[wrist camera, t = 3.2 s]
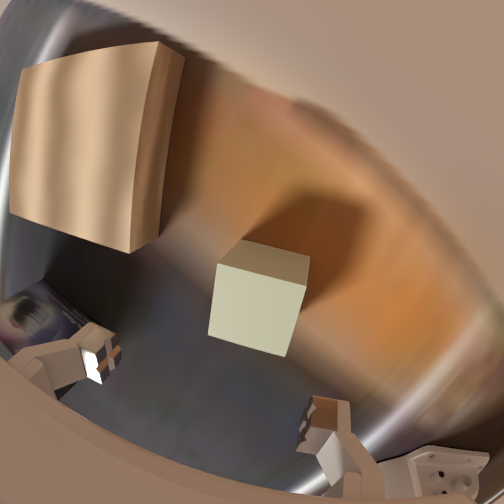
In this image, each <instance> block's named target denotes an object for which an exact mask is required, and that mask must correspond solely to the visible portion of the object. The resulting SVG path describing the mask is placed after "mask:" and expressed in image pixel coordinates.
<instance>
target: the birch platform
mask: <svg viewBox="0 0 504 504" xmlns="http://www.w3.org/2000/svg"><path fill="white" fill-rule="evenodd" d="M185 59H186V57H184V56H182V55H181V54H179V53H177V52H176V51H174V50H172V49H171V48H169V47H167V46H166V45H164V44H162V43H160V42H159V41H157V42H146V43H137V44H129V45H122V46H115V47H109V48H103V49H97V50H92V51H87V52H83V53H78V54H74V55H70V56H66V57H62V58H58V59H54V60H51V61H47V62H44V63H40V64H37V65H34V66H31V67H28V68H25V69H22V73H21V77H20V82H19V87H18V93H17V98H16V104H15V111H14V118H13V127H12V137H11V149H10V169H9V201H10V213H12V214H14V215H17V216H20V217H23V218H25V219H28V220H31V221H34V222H36V223H39V224H42V225H45V226H48V227H51V228H53V229H56V230H59V231H62V232H65V233H68V234H71V235H74V236H77V237H80V238H83V239H86V240H89V241H92V242H95V243H98V244H101V245H104V246H107V247H110V248H113V249H116V250H119V251H122V252H126V253H129V254H130V253H132V252H133V251H135V250H137V249H139V248H141V247H142V246H144V245H146V244H148V243H150V242H151V241H153V240H155V239H157V238H158V236H159V224H160V213H161V203H162V194H163V185H164V177H165V169H166V162H167V155H168V148H169V141H170V135H171V129H172V123H173V117H174V112H175V106H176V101H177V96H178V91H179V86H180V81H181V77H182V72H183V68H184V63H185Z"/></svg>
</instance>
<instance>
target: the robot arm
mask: <svg viewBox="0 0 504 504" xmlns="http://www.w3.org/2000/svg"><path fill="white" fill-rule="evenodd" d="M119 343H120V336H119V335H118V334H116V333H114V332H111V331H109V330H107V329H105V328H103V327H101V326H99V325H97V324H95V323H93V322H89V323H87V324H86V325H85V326H84V327H82V328H81V329H80V330H79V331H78V332H77V333H75V334H74V335H73V336H72V337H71V338H70V339H68V340H67V339H62V340H58V341H53V342H49V343H44V344H39V345H35V346H30V347H25V348H23V349H21V350H20V351H19V352H18V353H17V354H15V355H14V356H13V357H12V358H11V359H9V360H8V361H5V360H4V359H3V358H2V357H1V356H0V504H477V503H476V502H475V501H474V500H475V498H476V496H477V494H478V491H479V480H478V474H479V472H480V471H481V470H482V469H483V468H484V467H485V466H486V464H487V463H488V461H489V458H490V456H489V453H487V452H477V451H468V450H460V449H453V448H446V447H440V446H434V445H427V446H424V447H421V448H419V449H417V450H415V451H413V452H411V453H409V454H407V455H405V456H402V457H399V458H395V459H392V460H388V461H384V462H381V463H378V464H377V463H376V462H375V461H374V459H373V458H372V457H371V455H370V454H369V453H368V451H367V450H366V449H365V447H364V446H363V445H362V443H361V442H360V441H359V439H358V438H357V437H356V435H355V434H353V433H351V424H350V403H349V402H348V401H342V400H336V399H330V398H324V397H319V396H313V395H312V396H311V397H310V399H309V401H308V407H306V408H305V409H304V411H303V414H302V417H301V420H300V424H299V430H300V432H301V433H300V434H299V436H298V438H297V445H296V451H299V452H304V453H309V454H315V455H316V457H317V459H318V461H319V463H320V465H321V467H322V469H323V471H324V473H325V475H326V477H327V479H328V481H329V483H330V485H331V488H330V489H328V490H327V491H326V492H325V493H324V494H323V495H322V496H312V495H304V494H297V493H291V492H284V491H279V490H273V489H268V488H263V487H259V486H254V485H250V484H246V483H242V482H238V481H234V480H230V479H226V478H223V477H219V476H216V475H213V474H209V473H206V472H203V471H200V470H197V469H194V468H191V467H188V466H186V465H183V464H180V463H178V462H175V461H172V460H170V459H167V458H165V457H162V456H160V455H157V454H155V453H153V452H150V451H148V450H146V449H144V448H141V447H139V446H137V445H135V444H133V443H131V442H129V441H127V440H125V439H123V438H121V437H119V436H117V435H115V434H113V433H111V432H109V431H107V430H105V429H103V428H102V427H100V426H98V425H96V424H94V423H93V422H91V421H89V420H88V419H86V418H84V417H82V416H81V415H79V414H78V413H76V412H74V411H73V410H71V409H70V408H68V407H66V406H65V405H63V404H62V403H60V402H59V401H57V398H56V395H55V393H54V390H57V389H59V388H62V387H64V386H67V385H69V384H72V383H74V382H76V381H79V380H81V379H84V378H86V376H87V377H89V378H91V379H93V380H95V381H97V382H99V383H101V384H102V383H103V382H104V381H105V380H106V379H107V378H108V376H109V375H110V370H112V369H115V368H116V367H117V366H118V365H119V362H120V360H121V356H122V351H121V348H120V347H119V345H118V344H119Z"/></svg>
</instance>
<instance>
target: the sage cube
mask: <svg viewBox="0 0 504 504" xmlns="http://www.w3.org/2000/svg"><path fill="white" fill-rule="evenodd" d="M309 264H310V256H307V255H303V254H299V253H295V252H291V251H287V250H283V249H279V248H275V247H271V246H267V245H263V244H259V243H255V242H251V241H247V240H243V239H240V240H239V241H238V242H237V243H236V244H235V246H234V247H233V248H232V249H231V250H230V251H229V252H228V253H227V254H226V255H225V256H224V257H223V258H222V259H221V260H220V261H219V262H218V264H217V271H216V278H215V285H214V293H213V300H212V307H211V315H210V323H209V330H208V335H210V336H213V337H217V338H220V339H223V340H226V341H230V342H233V343H236V344H240V345H243V346H247V347H250V348H254V349H257V350H261V351H265V352H268V353H272V354H276V355H280V356H284V357H285V355H286V352H287V349H288V346H289V343H290V340H291V337H292V333H293V330H294V327H295V324H296V320H297V317H298V314H299V311H300V307H301V304H302V301H303V297H304V294H305V290H306V287H307V280H308V272H309Z"/></svg>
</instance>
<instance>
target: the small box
mask: <svg viewBox="0 0 504 504" xmlns="http://www.w3.org/2000/svg"><path fill="white" fill-rule="evenodd" d="M89 322H93V323H95V322H94V321H93V320H91V319H90V318H89V317H87V316H86V315H85V314H83V313H82V312H81V311H80V310H78V309H77V308H76V307H75V306H73V305H72V304H71V303H70V302H69V301H67V300H66V299H65V298H64V297H63V296H61V295H60V294H59V293H58V292H57V291H55V290H54V289H53V288H52V287H51V286H50V285H49V284H48V283H46V282H45V281H44V280H43V279H42V280H40V281H39V282H37V283H35V284H33V285H31V286H29V287H28V288H26V289H24V290H22V291H20V292H19V293H17V294H15V295H13V296H11V297H10V298H8V299H6V300H4V301H3V302H1V303H0V356H1V357H2V358H3V359H4V360H5V361H8V360H9V359H11V358H12V357H13V356H14V355H15V354H17V353H18V352H19V351H20V350H21V349H23V348H25V347H30V346H35V345H39V344H44V343H49V342H53V341H58V340H62V339H67V340H68V339H70V338H71V337H72V336H73V335H74V334H75V333H77V332H78V331H79V330H80V329H81V328H82V327H84V326H85V325H86V324H87V323H89ZM95 324H97V323H95ZM97 325H98V324H97ZM77 382H78V381H76V382H74V383H72V384H69V385H67V386H64V387H62V388H59V389H57V390H54V393H55V395H56V398H57V401H58V400H59V399H60V398H61V397H62V396H64V394H65V393H67V392H68V391H69V390H70V389H71V388H72V387H73V386H74V385H75V384H76V383H77Z"/></svg>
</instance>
